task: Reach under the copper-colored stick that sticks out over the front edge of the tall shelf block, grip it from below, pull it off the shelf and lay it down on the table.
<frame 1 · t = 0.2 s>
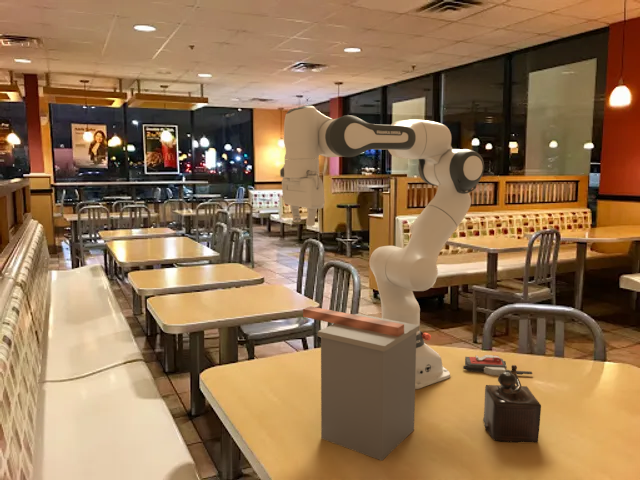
hand: (303, 223, 137), 48 cm above the table, tool pointing down, fingers open, 8 cm apart
copper-colored stick: (351, 324, 123), point 26 cm above the table, touching shelf block
manual coffee grinder: (511, 437, 123), on the table
shelf block: (368, 434, 124), on the table
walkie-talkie: (495, 371, 162), on the table
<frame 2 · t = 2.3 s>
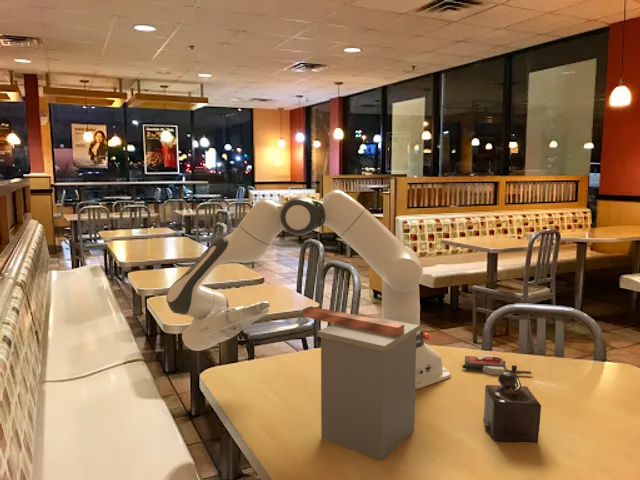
hand: (255, 308, 140), 25 cm above the table, tool pointing upward, fingers open, 8 cm apart
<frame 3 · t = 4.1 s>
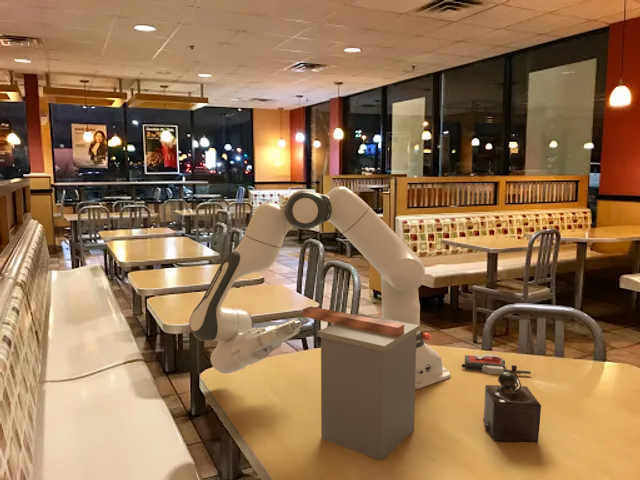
hand: (287, 328, 135), 21 cm above the table, tool pointing upward, fingers open, 8 cm apart
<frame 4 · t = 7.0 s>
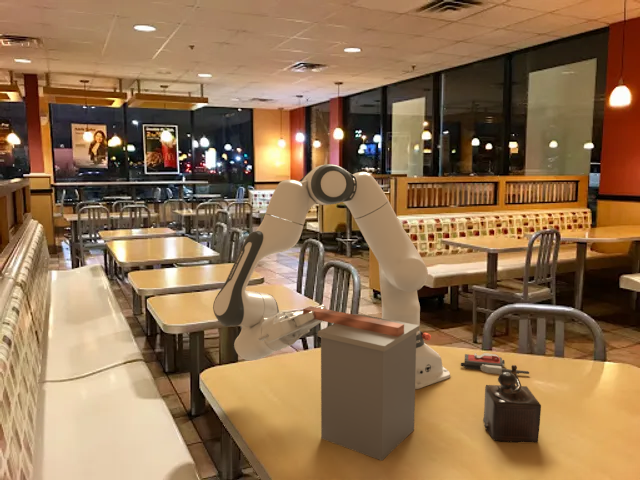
hand: (319, 312, 128), 27 cm above the table, tool pointing upward, fingers closed on copper-colored stick, 3 cm apart
copper-colored stick: (351, 324, 123), point 26 cm above the table, touching gripper, shelf block
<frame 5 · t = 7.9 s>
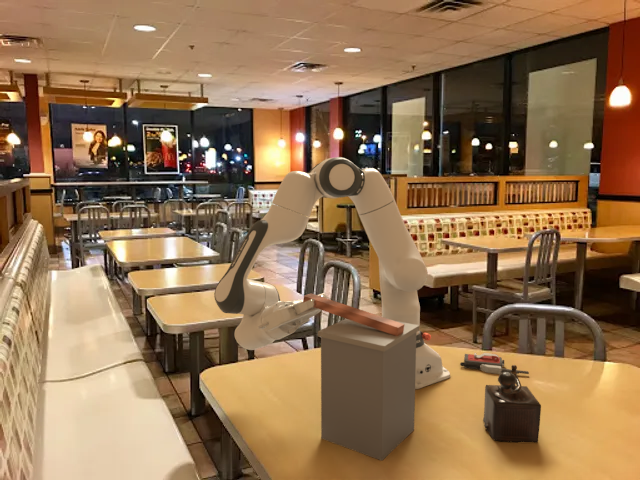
hand: (319, 299, 127), 31 cm above the table, tool pointing upward, fingers closed on copper-colored stick, 3 cm apart
copper-colored stick: (350, 317, 123), point 28 cm above the table, tilted 7°, touching gripper
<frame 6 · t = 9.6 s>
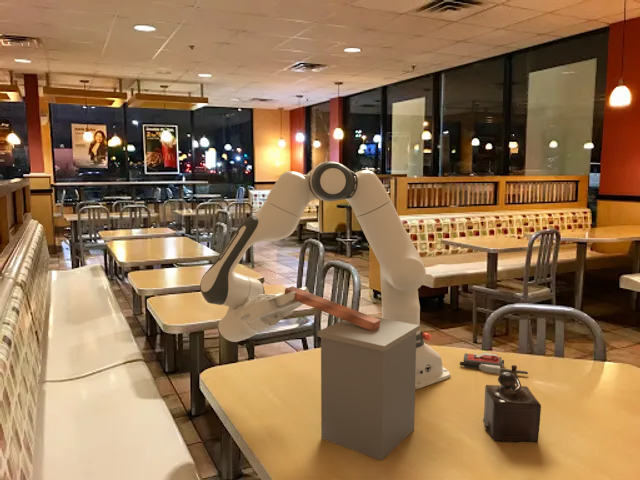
hand: (299, 292, 131), 32 cm above the table, tool pointing upward, fingers closed on copper-colored stick, 3 cm apart
copper-colored stick: (329, 311, 126), point 28 cm above the table, tilted 10°, touching gripper
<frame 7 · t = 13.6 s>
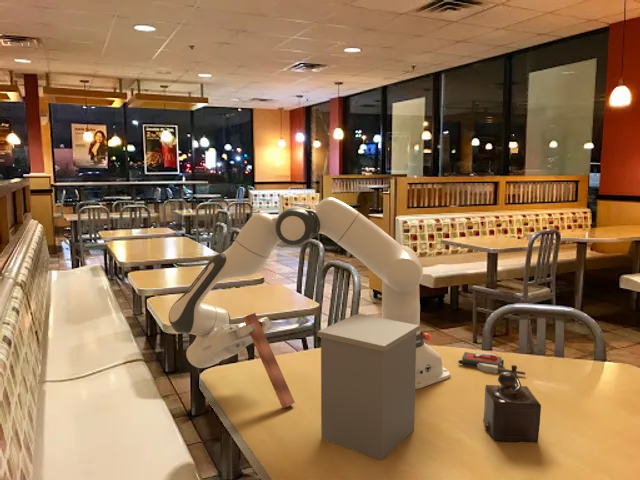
hand: (258, 324, 140), 21 cm above the table, tool pointing upward, fingers closed on copper-colored stick, 3 cm apart
copper-colored stick: (266, 361, 140), point 11 cm above the table, tilted 58°, touching gripper
when the fingers open (14 cm above the table, at t = 15.3 s): copper-colored stick drops 10 cm, on the table.
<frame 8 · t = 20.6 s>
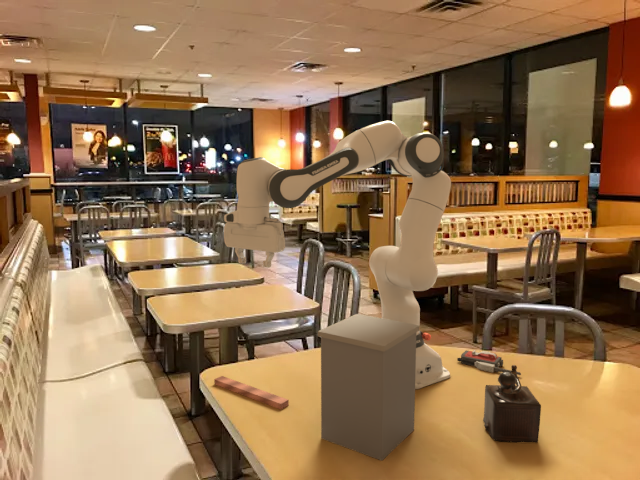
hand: (254, 265, 148), 35 cm above the table, tool pointing down, fingers open, 8 cm apart
copper-colored stick: (249, 395, 145), on the table
at the end: copper-colored stick on the table; copper-colored stick moved 42.3 cm from its start; the gripper is holding nothing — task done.
